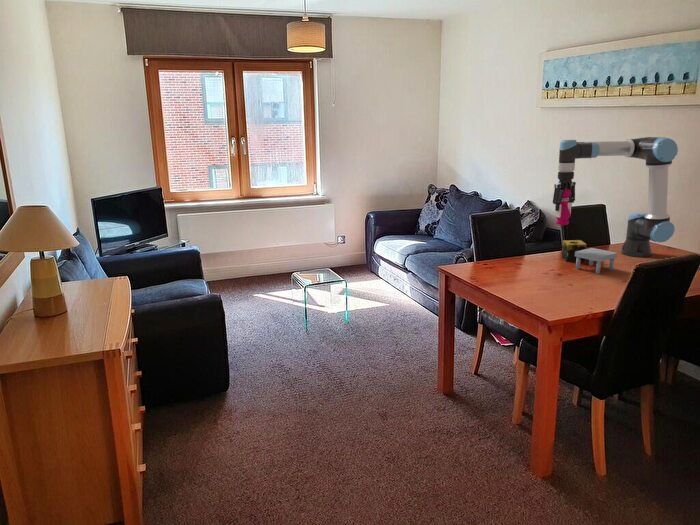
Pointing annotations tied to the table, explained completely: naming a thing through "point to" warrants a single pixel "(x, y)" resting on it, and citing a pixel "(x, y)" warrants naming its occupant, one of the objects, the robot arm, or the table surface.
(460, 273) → the table surface
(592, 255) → the stool
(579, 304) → the table surface
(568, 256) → the yellow and black cube
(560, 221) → the pepper mill
